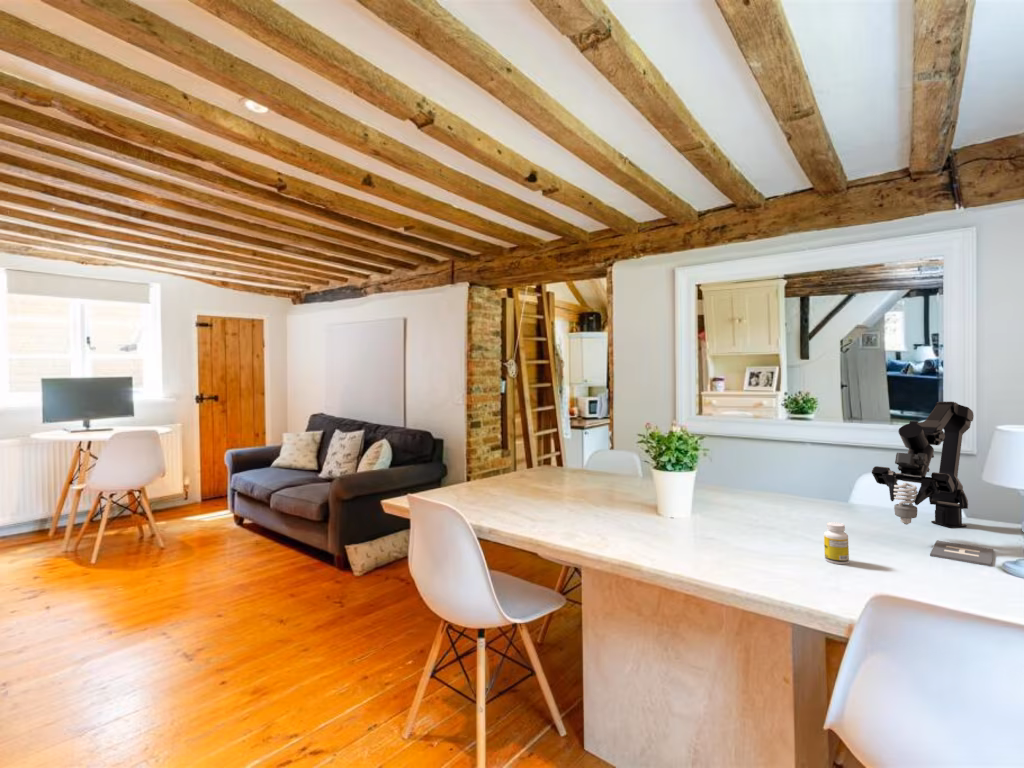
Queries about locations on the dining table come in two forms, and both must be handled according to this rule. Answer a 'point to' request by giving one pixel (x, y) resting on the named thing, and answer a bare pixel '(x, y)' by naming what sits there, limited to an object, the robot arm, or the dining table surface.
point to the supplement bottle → (836, 544)
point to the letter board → (962, 552)
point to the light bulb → (906, 503)
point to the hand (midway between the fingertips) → (903, 502)
